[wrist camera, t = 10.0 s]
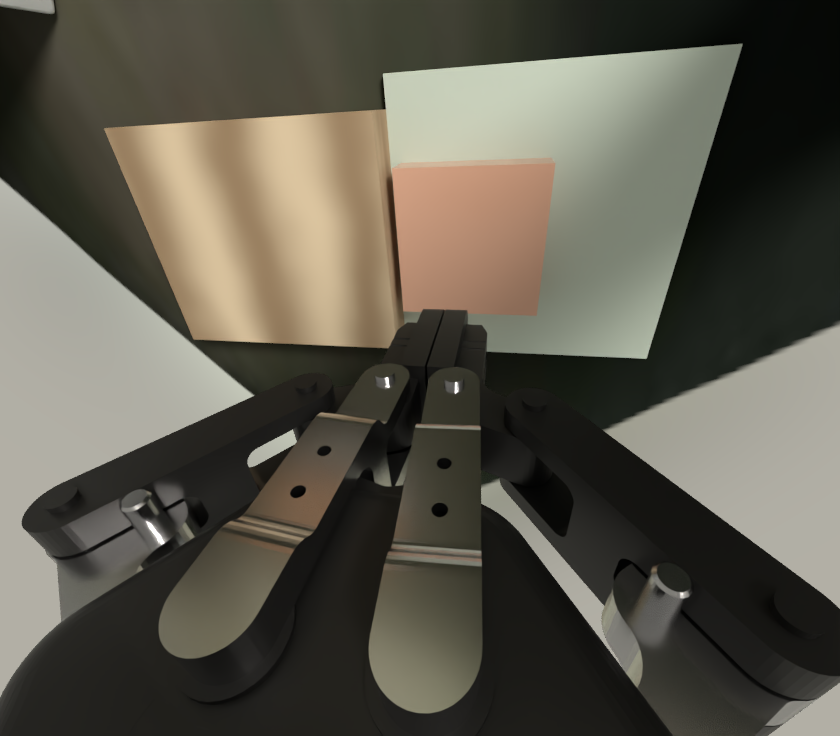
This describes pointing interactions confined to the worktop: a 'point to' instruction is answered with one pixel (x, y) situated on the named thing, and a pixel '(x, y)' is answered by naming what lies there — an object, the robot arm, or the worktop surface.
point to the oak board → (273, 225)
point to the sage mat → (581, 176)
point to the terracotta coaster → (472, 233)
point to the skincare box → (30, 5)
